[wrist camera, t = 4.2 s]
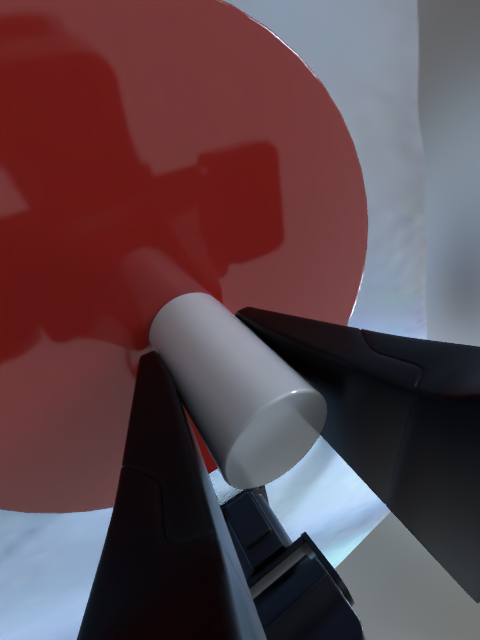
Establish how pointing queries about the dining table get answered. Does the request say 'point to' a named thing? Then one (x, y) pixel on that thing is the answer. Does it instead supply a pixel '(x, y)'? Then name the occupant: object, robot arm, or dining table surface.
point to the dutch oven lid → (161, 237)
